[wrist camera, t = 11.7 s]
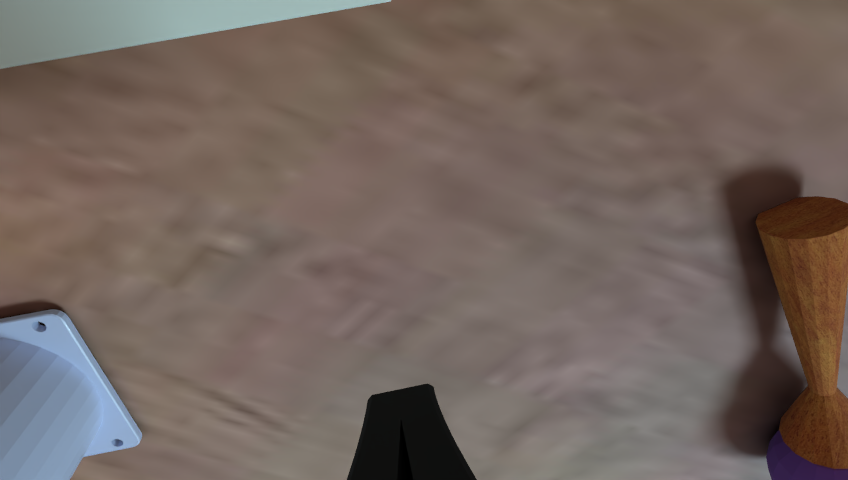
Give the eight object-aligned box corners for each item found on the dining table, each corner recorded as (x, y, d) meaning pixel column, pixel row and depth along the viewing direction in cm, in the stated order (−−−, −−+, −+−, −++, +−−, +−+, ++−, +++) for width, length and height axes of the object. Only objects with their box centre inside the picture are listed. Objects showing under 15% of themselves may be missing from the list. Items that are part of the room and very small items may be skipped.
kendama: (946, 201, 18) (938, 520, 26) (793, 171, 23) (825, 443, 31) (815, 278, 18) (848, 579, 25) (690, 229, 23) (749, 490, 31)
